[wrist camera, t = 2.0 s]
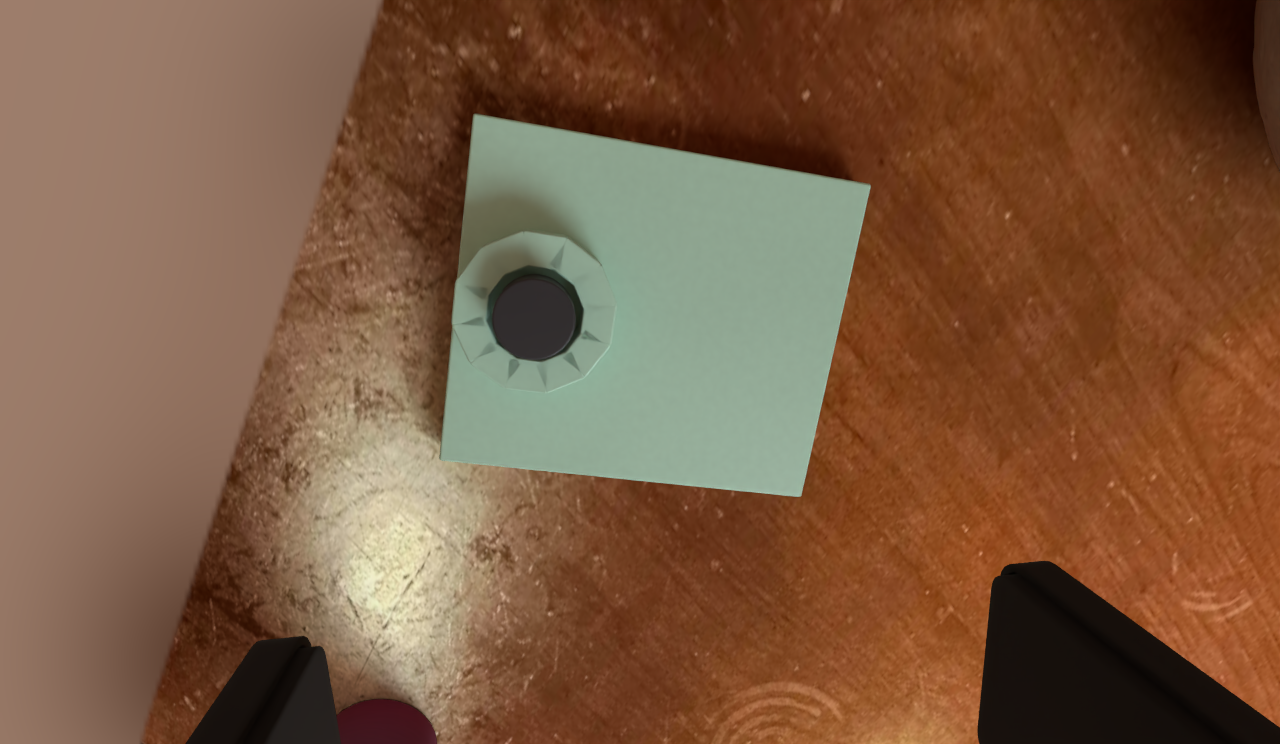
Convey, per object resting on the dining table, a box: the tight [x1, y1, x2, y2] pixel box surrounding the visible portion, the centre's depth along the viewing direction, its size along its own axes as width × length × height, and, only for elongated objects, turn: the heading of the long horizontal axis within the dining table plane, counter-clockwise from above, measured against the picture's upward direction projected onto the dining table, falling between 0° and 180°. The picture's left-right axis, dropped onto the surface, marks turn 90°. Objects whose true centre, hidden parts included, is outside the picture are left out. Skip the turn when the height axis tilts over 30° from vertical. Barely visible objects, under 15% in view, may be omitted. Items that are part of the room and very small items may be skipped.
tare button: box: [492, 274, 576, 360], centre depth 24 cm, size 3×3×2 cm
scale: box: [439, 114, 871, 497], centre depth 26 cm, size 15×13×3 cm
